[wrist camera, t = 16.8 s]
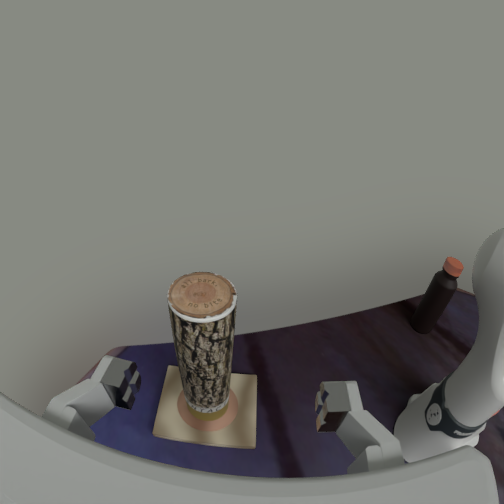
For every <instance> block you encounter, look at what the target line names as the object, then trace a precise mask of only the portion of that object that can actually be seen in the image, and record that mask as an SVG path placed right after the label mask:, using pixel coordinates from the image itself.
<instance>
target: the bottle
mask: <svg viewBox="0 0 504 504" xmlns="http://www.w3.org/2000/svg"><path fill="white" fill-rule="evenodd" d="M462 270H463V265H462V263H461V262H460V261H458V260H457V259H455V258H452V257H447V259H446V261H445V263H444V265H443V270H442V271H439V272H437V273H436V274H435V276H434V277H433V279H432V281H431V283H430V285H429V287H428V289H427V291H426V293H425V294H424V296H423V298H422V300H421V302H420V304H419V305H418V307H417V309H416V311H415V312H414V314H413V316H412V317H411V325H412V327H413V328H414V329H415V330H416V331H417V332H419V333H422V334H427V333H429V332H430V331H431V330H432V328H433V327H434V325H435V324H436V322H437V320H438V319H439V317H440V316H441V314H442V313H443V311H444V309H445V308H446V306H447V304H448V303H449V301H450V299H451V298H452V296H453V294H454V293H455V291H456V289H457V281H456V279H457V278H458V277H459V275H460V274H461V272H462Z"/></svg>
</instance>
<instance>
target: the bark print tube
mask: <svg viewBox="0 0 504 504" xmlns="http://www.w3.org/2000/svg"><path fill="white" fill-rule="evenodd" d="M167 296H168V306H169V313H170V320H171V327H172V333H173V339H174V345H175V351H176V356H177V361H178V367H179V372H180V377H181V382H182V386H183V391H184V396H185V399H186V404H187V408H188V410H189V411H190V413H191V414H192V415H193V416H194V417H196V418H197V419H200V420H203V421H213V420H217V419H219V418H221V417H222V416H223V415H224V414H225V413H226V411H227V409H228V403H229V392H230V379H231V366H232V353H233V341H234V328H235V316H236V304H237V292H236V289H235V287H234V285H233V284H232V283H231V282H230V281H229V280H228V279H226V278H225V277H223V276H221V275H218V274H215V273H210V272H195V273H189V274H186V275H184V276H181V277H179V278H178V279H176V280H175V281H174V282H173V283H172V284H171V286H170V287H169V290H168V294H167Z"/></svg>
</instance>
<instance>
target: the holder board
mask: <svg viewBox="0 0 504 504" xmlns="http://www.w3.org/2000/svg"><path fill="white" fill-rule="evenodd" d="M256 400H257V375H246V374H234V373H231V379H230V392H229V403H228V409H227V411H226V413H225V414H224V415H223V416H222V417H221V418H219V419H217V420H213V421H203V420H200V419H197V418H196V417H194V416H193V415H192V414H191V413H190V411H189V410H188V408H187V404H186V399H185V396H184V391H183V386H182V382H181V377H180V372H179V367H177V366H170V365H169V366H168V370H167V374H166V378H165V382H164V386H163V390H162V394H161V398H160V402H159V407H158V411H157V415H156V420H155V424H154V429H153V435H154V436H156V437H161V438H165V439H171V440H176V441H182V442H188V443H195V444H202V445H210V446H220V447H231V448H245V449H255V447H256Z"/></svg>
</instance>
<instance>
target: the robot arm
mask: <svg viewBox="0 0 504 504" xmlns="http://www.w3.org/2000/svg"><path fill="white" fill-rule="evenodd" d="M472 283H473V291H474V294H475V297H476V300H477V304H478V309H479V329H478V334H477V338H476V340H475V343H474V345H473V347H472V349H471V350H470V352H469V353H468V355H467V356H466V358H465V359H464V361H463V362H462V363H461V364H460V366H459V367H458V368H457V369H456V370H455V371H454V372H452V373H450V374H449V375H448V376H447V377H445V378H444V379H443V380H442V381H441V382H440V383H434V384H432V385H431V386H430V387H429V388H428V389H426V390H425V391H424V392H423V393H422V394H414V395H413V396H411V397H410V398H409V401H408V404H407V407H406V409H405V410H404V411H403V412H402V413H401V414H400V416H399V417H398V419H397V421H396V424H395V427H394V435H392V434H391V433H390V432H389V431H388V430H387V429H386V428H385V427H384V426H383V425H382V424H381V423H380V422H378V421H377V420H376V419H375V418H374V417H373V416H372V415H371V414H370V413H369V412H368V411H367V410H363V406H362V402H361V398H360V393H359V389H358V385H357V382H356V381H330V382H322V383H321V384H320V391H319V392H317V395H316V400H315V412H316V413H317V414H318V417H317V419H316V423H317V432H336V434H337V435H338V436H339V438H340V439H341V440H342V441H343V443H344V444H345V445H346V447H347V448H348V449H349V450H350V452H351V453H352V454H353V455H354V457H355V458H356V460H355V461H354V462H353V463H352V464H351V465H350V466H349V467H348V468H347V473H348V474H346V475H337V476H325V477H308V478H264V477H247V476H236V475H226V474H218V473H211V472H204V471H198V470H192V469H187V468H182V467H177V466H172V465H168V464H164V463H160V462H156V461H152V460H148V459H144V458H141V457H137V456H134V455H131V454H128V453H125V452H121V451H118V450H116V449H113V448H110V447H107V446H104V445H102V444H99V443H96V442H94V439H95V437H96V436H95V434H94V433H93V431H92V430H91V429H90V428H89V427H90V426H91V425H92V424H94V423H95V422H96V421H98V420H99V419H100V418H101V417H103V416H104V415H105V414H107V413H108V412H109V411H110V410H112V409H113V408H114V407H115V406H117V407H121V408H124V409H128V410H131V408H132V406H133V403H134V401H135V397H134V394H136V393H137V392H138V391H139V389H140V385H141V376H140V374H139V373H138V372H137V371H136V369H137V365H136V363H135V362H131V361H127V360H123V359H120V358H116V357H112V356H108V355H105V356H104V357H103V358H102V360H101V361H100V363H99V365H98V367H97V368H96V370H95V372H94V373H93V375H92V377H91V379H86V380H84V381H82V382H81V383H79V384H77V385H75V386H74V387H72V388H70V389H68V390H67V391H65V392H63V393H61V394H59V395H57V396H56V397H54V398H52V400H51V401H50V403H49V405H48V407H47V408H46V410H45V412H44V414H43V416H42V417H41V416H38V415H37V414H35V413H33V412H32V411H30V410H28V409H26V408H25V407H23V406H21V405H20V404H18V403H17V402H15V401H13V400H12V399H10V398H8V397H7V396H6V395H4V394H3V393H1V392H0V504H499V499H498V492H497V487H496V481H495V477H494V473H493V469H492V466H491V463H490V461H489V459H488V458H487V457H486V456H485V455H484V454H482V453H481V452H479V451H478V450H477V449H475V448H474V446H475V445H476V444H477V443H478V440H479V433H480V432H481V431H483V430H484V428H485V425H486V422H487V420H488V419H489V418H490V417H492V416H493V415H495V414H496V413H498V412H499V410H500V409H501V408H502V407H503V406H504V228H502V229H500V230H498V231H496V232H494V233H493V234H492V235H490V236H489V237H488V238H487V239H486V240H485V241H484V243H483V244H482V246H481V247H480V249H479V251H478V253H477V255H476V258H475V261H474V265H473V273H472ZM404 459H405V460H406V461H407V462H408V463H407V464H404Z"/></svg>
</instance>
